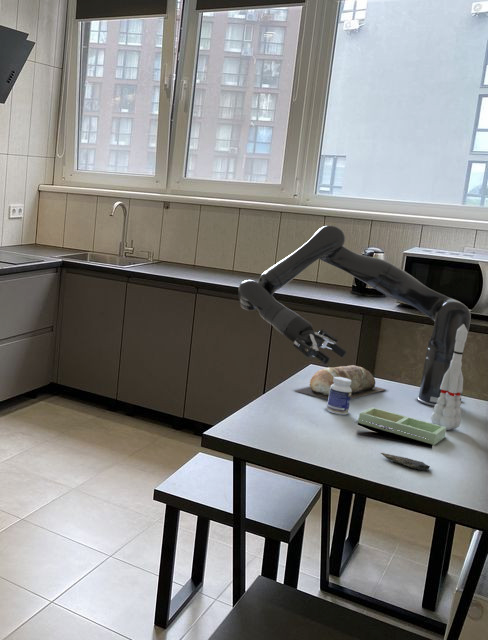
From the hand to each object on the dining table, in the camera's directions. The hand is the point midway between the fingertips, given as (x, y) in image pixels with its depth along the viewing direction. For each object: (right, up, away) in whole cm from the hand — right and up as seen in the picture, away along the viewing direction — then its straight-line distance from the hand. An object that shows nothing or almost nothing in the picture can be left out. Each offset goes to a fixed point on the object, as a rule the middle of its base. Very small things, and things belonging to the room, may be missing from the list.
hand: (336, 357), depth 216 cm
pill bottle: (0, -16, -1) cm, 16 cm away
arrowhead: (-2, -21, -39) cm, 45 cm away
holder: (+12, -18, -12) cm, 25 cm away
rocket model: (+27, -19, -7) cm, 34 cm away
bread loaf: (+13, -13, +24) cm, 30 cm away
